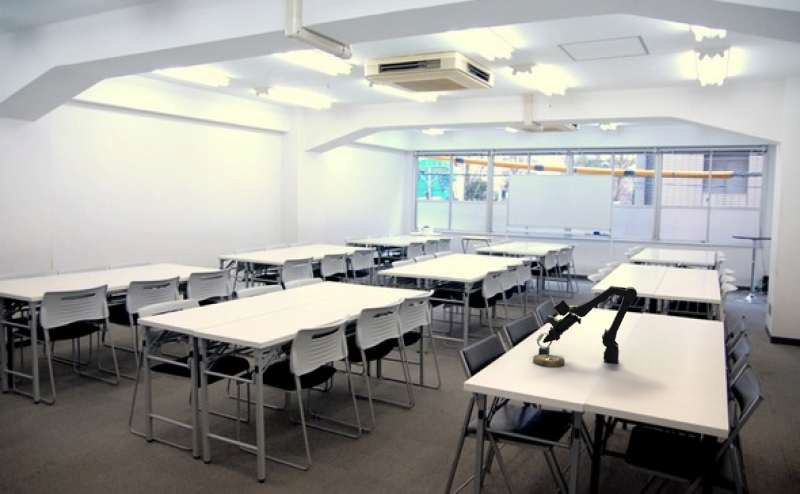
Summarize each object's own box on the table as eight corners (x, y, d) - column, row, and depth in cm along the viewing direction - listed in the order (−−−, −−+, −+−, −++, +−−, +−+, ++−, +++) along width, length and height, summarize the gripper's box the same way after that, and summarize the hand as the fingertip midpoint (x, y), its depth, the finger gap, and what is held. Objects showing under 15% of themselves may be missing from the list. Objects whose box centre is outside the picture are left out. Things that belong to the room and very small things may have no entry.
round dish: (567, 361, 285) (567, 356, 285) (561, 369, 272) (561, 364, 272) (537, 356, 292) (537, 352, 292) (529, 364, 279) (530, 359, 278)
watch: (537, 351, 302) (538, 331, 301) (552, 353, 299) (553, 333, 298) (534, 353, 297) (535, 333, 296) (550, 356, 294) (551, 335, 293)
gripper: (557, 307, 303) (535, 325, 308) (554, 314, 285) (530, 333, 290) (572, 323, 301) (549, 341, 306) (569, 331, 283) (545, 350, 288)
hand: (543, 341), depth 297 cm, fingers closed on watch, 4 cm apart
